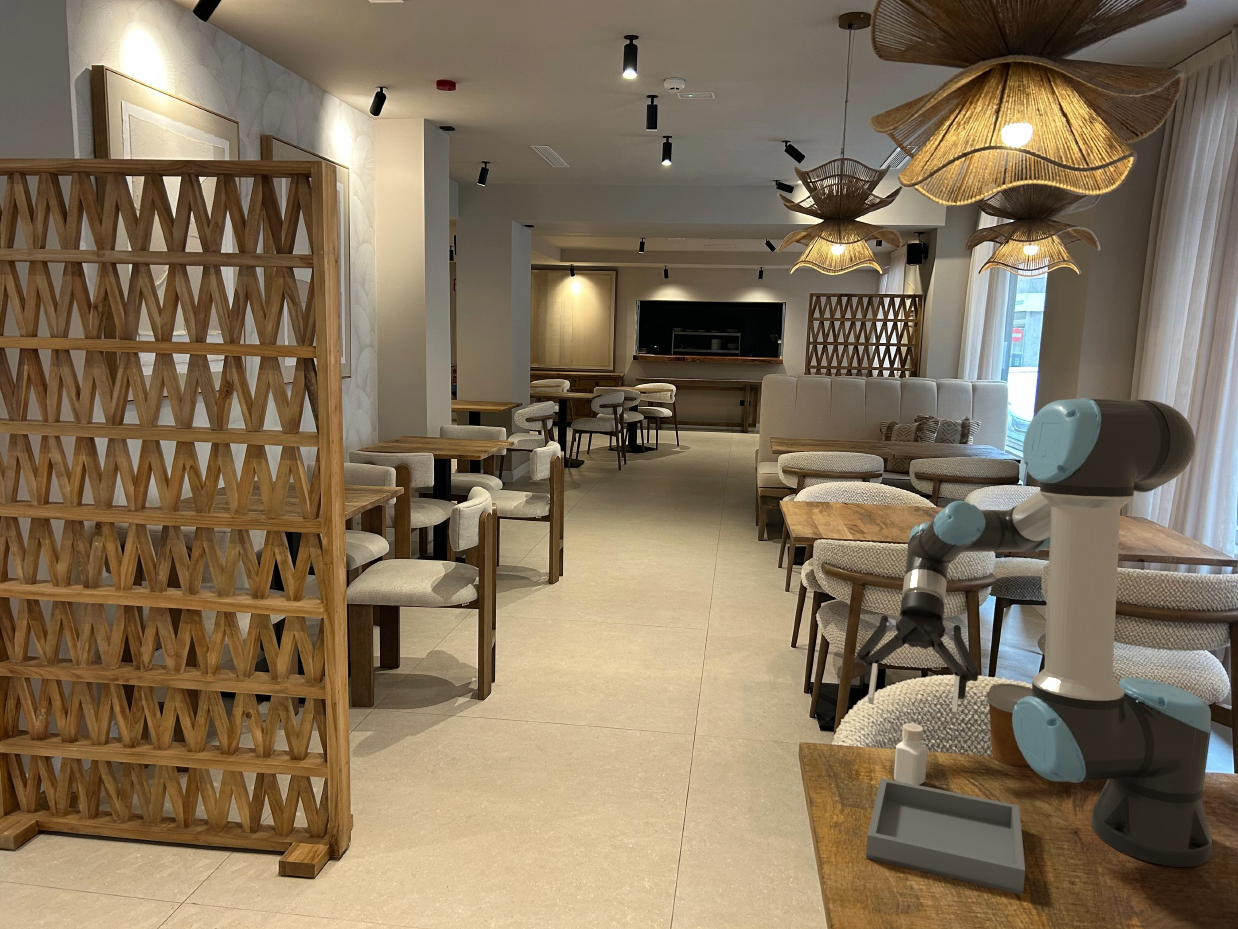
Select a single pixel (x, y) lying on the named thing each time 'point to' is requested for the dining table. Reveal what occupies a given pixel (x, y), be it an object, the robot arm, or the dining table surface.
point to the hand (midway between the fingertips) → (911, 708)
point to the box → (948, 835)
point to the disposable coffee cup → (1005, 721)
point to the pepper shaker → (911, 756)
